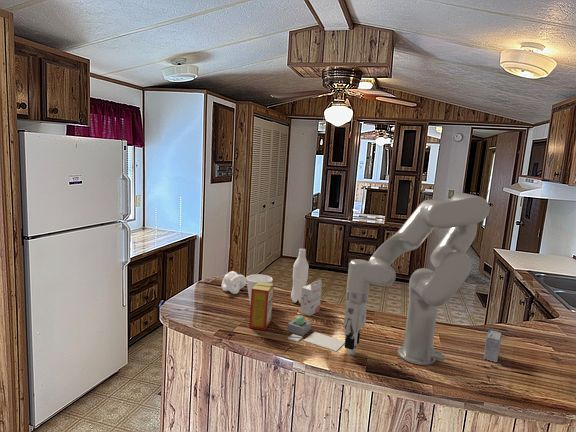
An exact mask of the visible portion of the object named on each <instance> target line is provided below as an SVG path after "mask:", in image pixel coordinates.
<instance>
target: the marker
mask: <svg viewBox="0 0 576 432" xmlns="http://www.w3.org/2000/svg"><path fill="white" fill-rule="evenodd" d="M351 329H353V328H351ZM350 333H351V334H352V331H350ZM358 333H359V332H355V334H354V339H355V342H354V349H353V350H351V349H348V348H346V351H345V353H346V354H347V355H350V356H355V355H356V353H357V345H358V344H357V336H358Z"/></svg>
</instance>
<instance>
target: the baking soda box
mask: <svg viewBox="0 0 576 432" xmlns="http://www.w3.org/2000/svg"><path fill="white" fill-rule="evenodd" d="M274 286H275V284H274V283H273V282H272V283H265V282H257V284H256V285H255V286H254V287H253V288H252V291H251V306H250V307H249V308H250V310H249V325H248V328H250V329H254V330H255V329H256V330H261V331H262V330H263V331H266V330H267V328H268V327H269V326H270V324H271V322H272V316H273V313H272V312H273V303H274V302H273V301H274Z"/></svg>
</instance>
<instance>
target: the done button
mask: <svg viewBox="0 0 576 432" xmlns="http://www.w3.org/2000/svg"><path fill="white" fill-rule="evenodd" d="M295 318H296V322H295V324H296V325H299V326H303V325H304V320H305V319H306V317H305V316H303V315H300V314H299V315H296V316H295Z"/></svg>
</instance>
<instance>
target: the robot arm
mask: <svg viewBox="0 0 576 432" xmlns="http://www.w3.org/2000/svg"><path fill="white" fill-rule="evenodd" d="M490 207H491V206H490V205H489V202H488V200H486V199H485V198H484V197H482V196H478V195H476V194H475V195H474V194H470V193H465V192H461V193H459V192H458V193H455V194H454V195H453V196H451V197H450V199H449V201H439V200H435V199H425V200H423V201H422V202H421V203H420V204H419V205H418V206H417V207H416V209H415V210H414V211H413V212H412V213H411V215H410V216H409V217H408V218H407V220H406V221H405V222H404V223H403V225H401V227H400V228H399V229H398V231H396V232H395V234H393V235H391V236H390V237H389V238H388V239H387V240H385V241H384V242H383V243H381V245H380V246H379V247H378V248H377V249H376V250H375V252H374V253H373V254H372V255H371V257H370V258H369V259H368V260H365V259H361V258H360V259H357V258H356V259H351V260H350V261H349V263H348V271H347V282H346V289H345V290H346V291H345V300H346V306H345V313H344V319H343V328H344V329H345V330H344V334H345V336H344V337H345V340H344V341H345V343H344V345H343V347H344V348H345V349H347V348H348V349H351V350H353V349H354V342H355V339H354V334H355V332H358V336H357V345H358V344H360V336H361V329H362V328H363V327H364V326H365V324H366V321H367V309H368V308H367V305H368V304H367V303H368V301H369V292H370V284H372V285H375V286H380V287H387V286H390V285H393V283H394V282H395V281H396V277H397V274H396V271H395V269H394V268H393V266H391V265H392V264H393V263H394V261H396V259H398V257H400V256H401V255H403V254H404V253H407V252H410V251H414V250H417V249H418V248H419V247H420V246H421V245H422V244H423V243H424V242H425V241H426V239H427V238H428V236H429V235H430V234H431V233H432V232H433V231H434V229H436V230H437V229H438V230H444V229H448V230H447V231H446V233H445V235H444V236H443V238H441V240H439V242H438V244H437V245H436V247H435V248H434V249H433V251H432V252H431V254H430V256H429V257H430V262H431V265H432V266H433V267H434V268H435V269H436V270H435V271H433V270H432V269H430V268H426V267H425V268H423V267H422V268H418V269H415V270H414V272H413V273H412V274H411V275H410V278H409V282H408V283H409V284H408V292H409V293H408V305H407V306H408V307H407V314H406V321H405V322H406V323H405V332H404V337H403V338H404V339H403V345H401V346H400V347H399V348H397V349H398V350H397V352H398V356H399V357H400V359H402V360H404V361H406V362H409V363H410V364H414V365H419V366H429V365H432V364H434V363H435V362H436V359H437V360H439V361H443V362H445V359H446V355H445V354H443V351H440V350H436V349H435V345H434V338H435V337H434V335H435V329H436V321H437V316H438V308H439V307H442V306H444V305H446V304H447V303H448V302H449V301H450V300H451V299H452V298H453V297H454V295H456V294H457V293H456V292H457V291H458V290H459V289H460V287H462V285H463V283H464V282H465V281H466V280H467V278H468V277H469V275H470V273H471V270H472V266H473V265H472V260H471V257H470V256H469V254H467V251H468V249H469V248H470V247H471V245H472V243H473V242H474V241H475V238H476V237H477V234H478V233H477V231H478V224H479V223H480V222H483V221H484V220H485V219H486V218H487V217H488V216H489V215H490V210H491V208H490ZM351 328H353V329H351ZM350 331H352V334H351V333H350Z"/></svg>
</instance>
